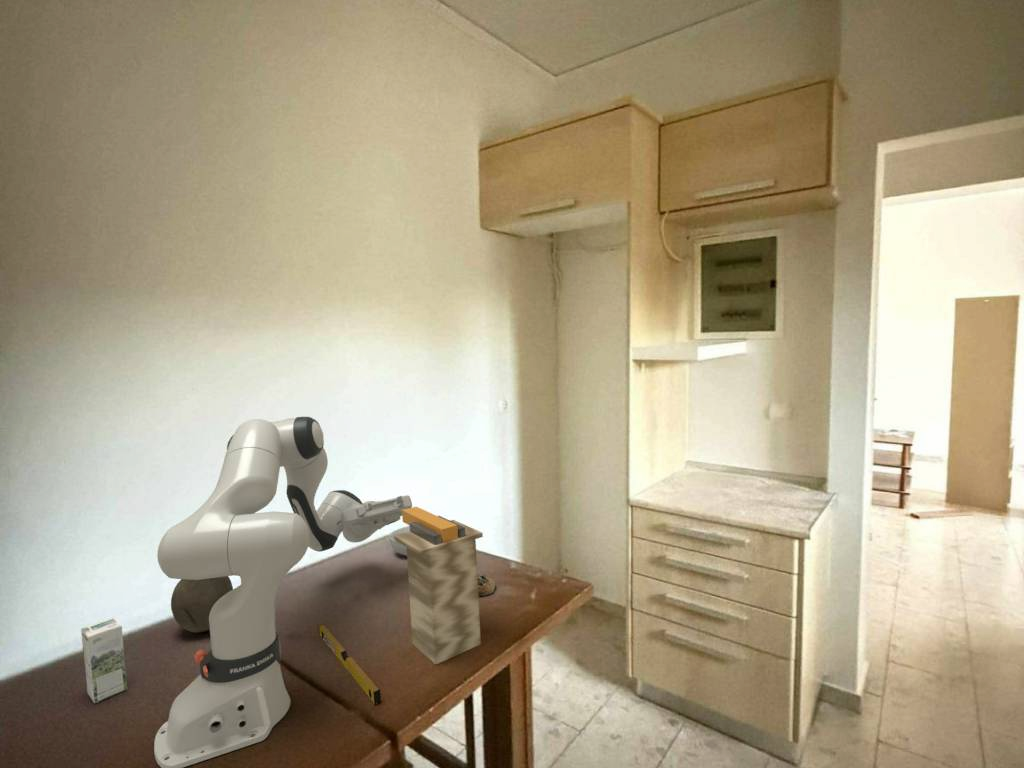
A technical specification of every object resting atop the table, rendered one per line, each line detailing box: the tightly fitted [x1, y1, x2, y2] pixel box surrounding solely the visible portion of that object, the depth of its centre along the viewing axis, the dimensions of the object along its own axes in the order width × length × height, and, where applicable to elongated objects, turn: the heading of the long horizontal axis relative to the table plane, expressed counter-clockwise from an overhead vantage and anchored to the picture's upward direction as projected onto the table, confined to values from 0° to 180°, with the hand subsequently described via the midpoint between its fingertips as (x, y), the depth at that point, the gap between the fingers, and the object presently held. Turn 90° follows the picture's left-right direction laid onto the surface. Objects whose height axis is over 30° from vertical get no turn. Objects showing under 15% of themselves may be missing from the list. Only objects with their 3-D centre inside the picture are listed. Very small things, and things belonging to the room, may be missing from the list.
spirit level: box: [318, 623, 382, 706], centre depth 116 cm, size 33×1×3 cm, turn 38°
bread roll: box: [477, 573, 496, 598], centre depth 150 cm, size 11×11×5 cm
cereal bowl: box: [388, 525, 410, 557], centre depth 180 cm, size 17×17×7 cm
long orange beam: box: [401, 506, 458, 543], centre depth 125 cm, size 4×20×3 cm, turn 38°
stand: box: [394, 515, 484, 666], centre depth 122 cm, size 16×13×28 cm
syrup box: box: [80, 617, 128, 704], centre depth 109 cm, size 6×6×14 cm
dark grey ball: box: [170, 576, 234, 634], centre depth 134 cm, size 14×14×15 cm
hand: (385, 502), depth 144 cm, fingers open, 8 cm apart
